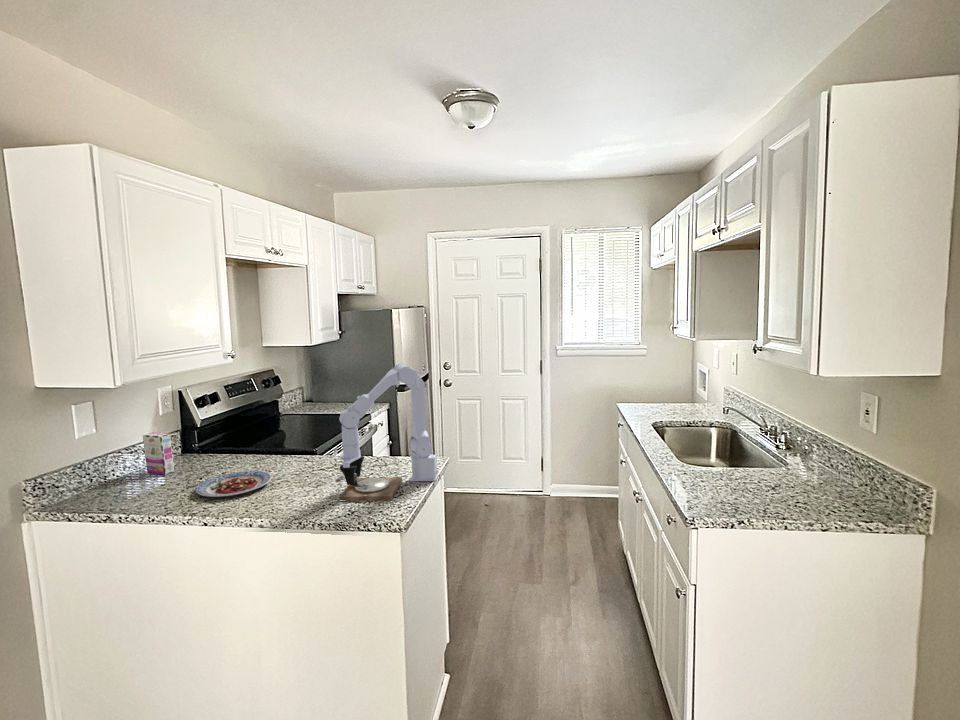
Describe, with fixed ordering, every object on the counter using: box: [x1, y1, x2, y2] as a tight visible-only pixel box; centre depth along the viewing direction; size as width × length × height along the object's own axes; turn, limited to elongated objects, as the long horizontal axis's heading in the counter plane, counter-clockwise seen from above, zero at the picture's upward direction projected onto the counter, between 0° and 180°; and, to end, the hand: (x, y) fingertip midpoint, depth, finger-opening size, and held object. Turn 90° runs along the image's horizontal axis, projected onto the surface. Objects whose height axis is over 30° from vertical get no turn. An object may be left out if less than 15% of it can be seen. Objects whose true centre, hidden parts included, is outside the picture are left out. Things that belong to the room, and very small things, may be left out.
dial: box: [348, 473, 389, 493], centre depth 187 cm, size 14×12×5 cm
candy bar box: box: [142, 432, 176, 476], centre depth 217 cm, size 11×5×16 cm, turn 68°
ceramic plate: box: [195, 470, 272, 498], centre depth 197 cm, size 26×26×3 cm
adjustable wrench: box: [337, 457, 366, 481], centre depth 212 cm, size 25×6×2 cm, turn 172°
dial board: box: [339, 476, 403, 501], centre depth 188 cm, size 18×18×2 cm
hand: (353, 480), depth 188 cm, fingers open, 7 cm apart
